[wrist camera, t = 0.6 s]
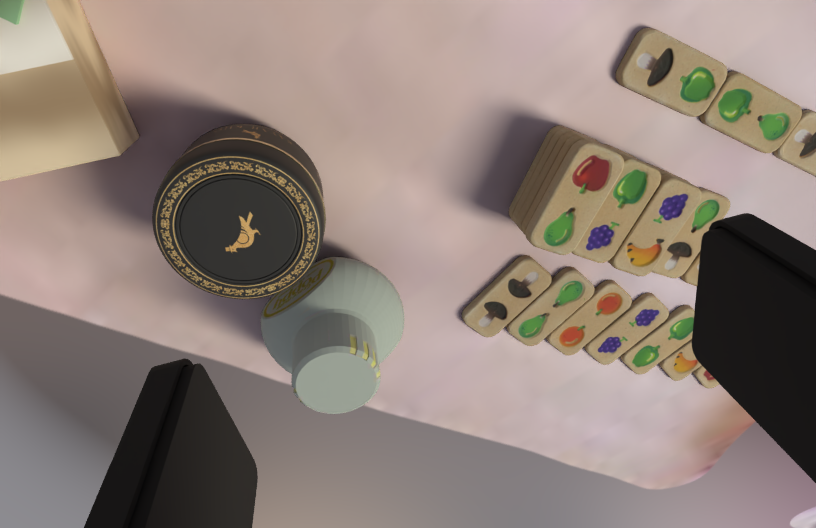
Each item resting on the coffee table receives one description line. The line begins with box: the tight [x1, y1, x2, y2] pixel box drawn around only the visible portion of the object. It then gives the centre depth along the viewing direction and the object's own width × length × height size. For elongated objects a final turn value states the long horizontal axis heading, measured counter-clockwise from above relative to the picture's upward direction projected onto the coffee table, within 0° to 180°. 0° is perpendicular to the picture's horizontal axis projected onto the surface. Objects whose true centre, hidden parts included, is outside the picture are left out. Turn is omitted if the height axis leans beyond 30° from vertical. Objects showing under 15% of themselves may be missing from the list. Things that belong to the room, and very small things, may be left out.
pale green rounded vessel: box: [261, 257, 404, 414], centre depth 39 cm, size 11×8×10 cm
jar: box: [152, 124, 326, 299], centre depth 34 cm, size 10×10×8 cm
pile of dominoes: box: [462, 28, 816, 388], centre depth 44 cm, size 35×27×6 cm
